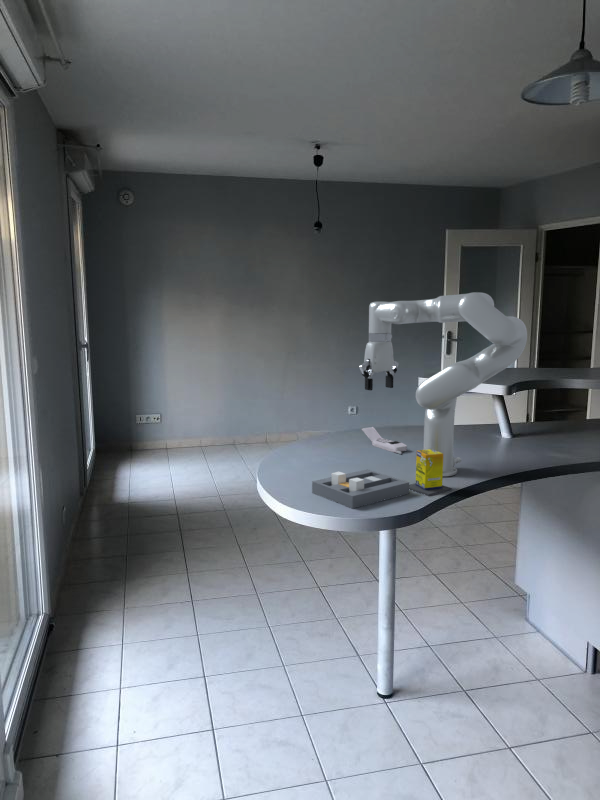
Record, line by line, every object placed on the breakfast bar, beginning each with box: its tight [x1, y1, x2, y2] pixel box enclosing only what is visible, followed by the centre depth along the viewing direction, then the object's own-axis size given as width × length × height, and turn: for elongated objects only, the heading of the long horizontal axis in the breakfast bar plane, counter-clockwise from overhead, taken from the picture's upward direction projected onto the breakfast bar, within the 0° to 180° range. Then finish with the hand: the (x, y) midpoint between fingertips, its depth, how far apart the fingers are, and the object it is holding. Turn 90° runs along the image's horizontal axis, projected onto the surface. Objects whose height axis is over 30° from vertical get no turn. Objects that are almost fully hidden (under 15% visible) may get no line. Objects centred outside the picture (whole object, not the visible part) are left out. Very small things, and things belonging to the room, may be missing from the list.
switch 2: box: [349, 478, 364, 492], centre depth 178 cm, size 3×3×4 cm
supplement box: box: [415, 449, 444, 491], centre depth 188 cm, size 6×6×11 cm
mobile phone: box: [361, 426, 408, 455], centre depth 243 cm, size 6×6×25 cm
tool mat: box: [409, 482, 453, 497], centre depth 189 cm, size 10×10×1 cm
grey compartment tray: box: [311, 469, 410, 510], centre depth 184 cm, size 22×18×4 cm
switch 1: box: [331, 471, 347, 485], centre depth 184 cm, size 3×3×4 cm
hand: (379, 388), depth 215 cm, fingers open, 9 cm apart
